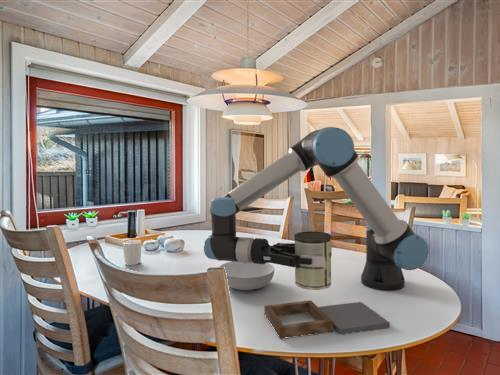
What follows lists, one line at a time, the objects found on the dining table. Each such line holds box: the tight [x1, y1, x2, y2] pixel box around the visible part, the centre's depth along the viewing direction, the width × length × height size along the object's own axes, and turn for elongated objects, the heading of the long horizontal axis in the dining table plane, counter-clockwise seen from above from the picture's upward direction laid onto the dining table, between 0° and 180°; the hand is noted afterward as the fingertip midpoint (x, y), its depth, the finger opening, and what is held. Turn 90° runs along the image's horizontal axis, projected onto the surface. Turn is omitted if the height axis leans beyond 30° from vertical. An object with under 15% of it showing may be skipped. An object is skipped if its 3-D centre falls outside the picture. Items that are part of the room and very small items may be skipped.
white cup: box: [122, 239, 142, 266], centre depth 167 cm, size 8×8×10 cm
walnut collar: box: [263, 300, 334, 339], centre depth 106 cm, size 15×15×3 cm
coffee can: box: [294, 230, 332, 291], centre depth 105 cm, size 10×10×14 cm
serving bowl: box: [218, 261, 275, 291], centre depth 136 cm, size 21×21×7 cm
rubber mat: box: [318, 301, 390, 335], centre depth 107 cm, size 15×15×2 cm
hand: (328, 256), depth 103 cm, fingers closed on coffee can, 10 cm apart
